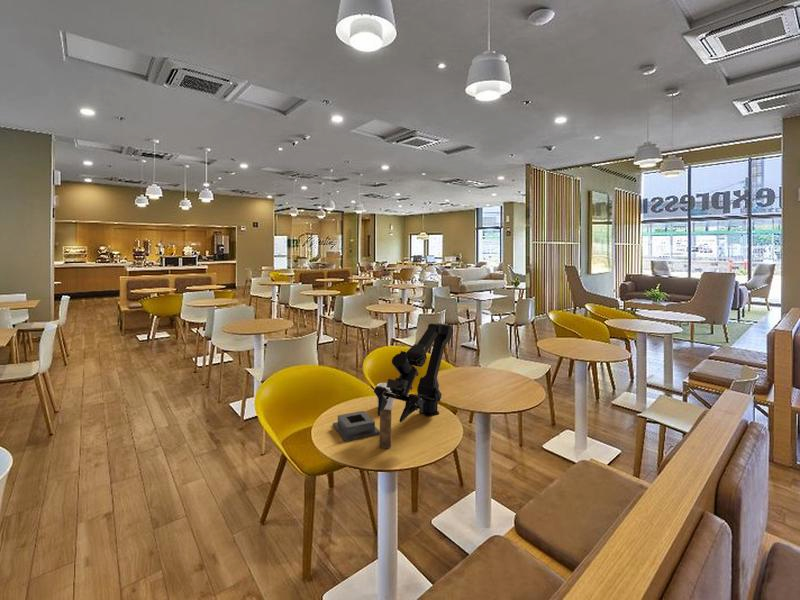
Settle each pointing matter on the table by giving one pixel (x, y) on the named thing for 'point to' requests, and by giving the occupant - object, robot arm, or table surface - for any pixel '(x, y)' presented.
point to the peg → (385, 429)
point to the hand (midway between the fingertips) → (389, 418)
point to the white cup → (390, 400)
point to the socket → (355, 426)
